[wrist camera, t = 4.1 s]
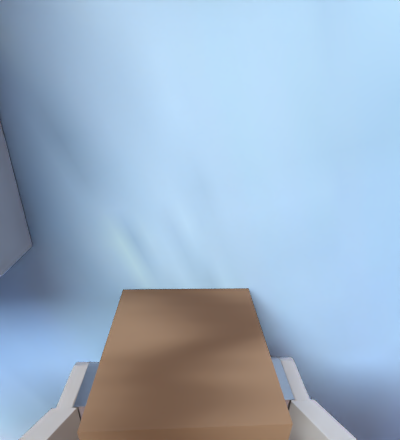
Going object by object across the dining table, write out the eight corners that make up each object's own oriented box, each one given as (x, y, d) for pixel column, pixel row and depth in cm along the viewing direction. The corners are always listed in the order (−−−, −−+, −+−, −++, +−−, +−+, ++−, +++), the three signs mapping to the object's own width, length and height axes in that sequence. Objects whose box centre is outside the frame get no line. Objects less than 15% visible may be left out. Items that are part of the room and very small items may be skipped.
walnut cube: (248, 288, 11) (292, 423, 6) (237, 372, 13) (265, 519, 8) (123, 289, 11) (76, 432, 6) (132, 375, 13) (103, 529, 8)
